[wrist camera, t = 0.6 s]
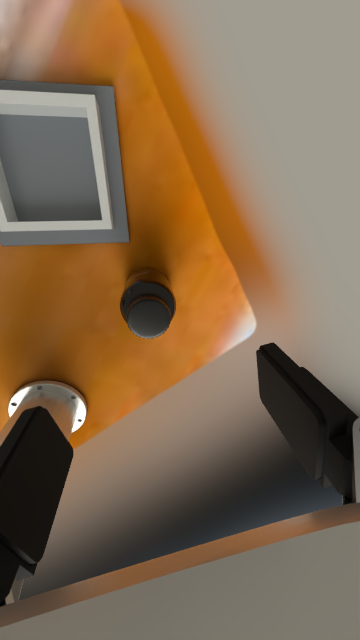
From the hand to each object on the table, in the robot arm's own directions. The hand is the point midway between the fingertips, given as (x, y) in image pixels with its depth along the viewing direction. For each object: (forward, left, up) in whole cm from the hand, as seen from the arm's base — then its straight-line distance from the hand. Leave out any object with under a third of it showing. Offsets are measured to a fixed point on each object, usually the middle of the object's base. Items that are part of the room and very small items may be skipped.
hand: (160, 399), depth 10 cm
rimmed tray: (+13, +10, -26) cm, 31 cm away
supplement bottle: (-2, 0, -27) cm, 27 cm away
